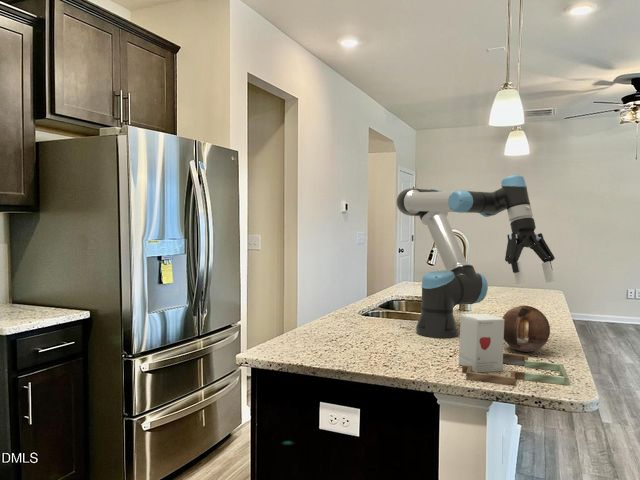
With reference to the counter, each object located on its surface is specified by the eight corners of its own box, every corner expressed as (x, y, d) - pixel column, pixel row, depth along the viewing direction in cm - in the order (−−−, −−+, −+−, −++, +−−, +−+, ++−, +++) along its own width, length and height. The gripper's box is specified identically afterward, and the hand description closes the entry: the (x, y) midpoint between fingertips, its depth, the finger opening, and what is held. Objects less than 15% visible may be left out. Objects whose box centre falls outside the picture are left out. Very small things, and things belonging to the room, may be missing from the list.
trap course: (460, 378, 130) (460, 371, 130) (467, 354, 154) (467, 349, 154) (571, 392, 121) (571, 385, 121) (560, 365, 145) (560, 359, 145)
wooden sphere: (513, 343, 171) (514, 300, 170) (557, 352, 160) (558, 306, 159) (491, 350, 161) (492, 304, 161) (536, 360, 150) (537, 311, 149)
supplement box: (475, 373, 135) (477, 319, 134) (457, 364, 144) (459, 313, 143) (503, 371, 137) (505, 318, 137) (484, 362, 146) (486, 312, 146)
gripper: (502, 215, 156) (516, 280, 150) (556, 217, 166) (571, 278, 161) (485, 222, 162) (498, 285, 157) (538, 224, 173) (552, 283, 168)
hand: (535, 282), depth 159 cm, fingers open, 13 cm apart
